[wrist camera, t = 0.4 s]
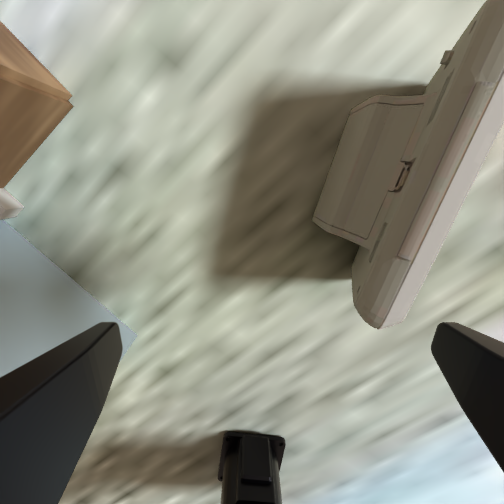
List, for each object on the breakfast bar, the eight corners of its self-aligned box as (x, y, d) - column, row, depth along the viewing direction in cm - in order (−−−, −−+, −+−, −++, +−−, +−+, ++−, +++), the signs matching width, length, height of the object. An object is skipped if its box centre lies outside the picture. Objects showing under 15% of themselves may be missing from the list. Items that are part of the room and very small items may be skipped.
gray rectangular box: (138, 334, 26) (72, 430, 16) (103, 364, 27) (22, 473, 17) (-11, 206, 22) (-205, 232, 13) (-45, 246, 23) (-251, 298, 14)
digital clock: (362, 286, 25) (443, 367, 15) (275, 241, 24) (295, 294, 13) (484, 111, 21) (709, 52, 11) (386, 45, 20) (537, -94, 9)
